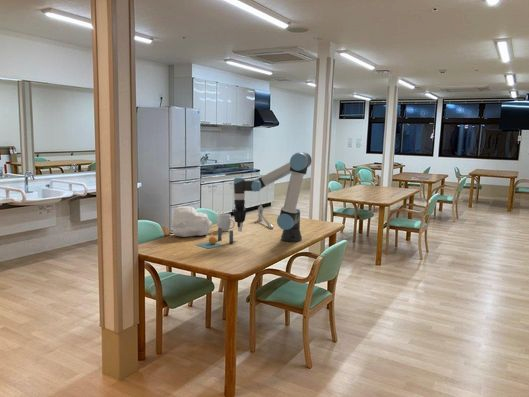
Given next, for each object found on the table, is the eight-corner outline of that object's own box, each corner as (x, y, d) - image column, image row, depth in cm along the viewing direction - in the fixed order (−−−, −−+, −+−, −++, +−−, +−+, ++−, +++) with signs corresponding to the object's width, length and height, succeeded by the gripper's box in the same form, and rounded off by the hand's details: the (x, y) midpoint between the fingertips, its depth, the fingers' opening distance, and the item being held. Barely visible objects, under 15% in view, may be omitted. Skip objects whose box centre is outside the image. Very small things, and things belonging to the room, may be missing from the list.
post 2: (231, 242, 308) (231, 230, 307) (233, 243, 306) (233, 230, 305) (228, 243, 306) (228, 230, 305) (231, 244, 304) (231, 231, 303)
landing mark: (211, 241, 310) (211, 241, 310) (224, 245, 301) (224, 245, 301) (195, 244, 301) (195, 244, 301) (207, 248, 291) (207, 248, 291)
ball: (206, 236, 303) (207, 244, 304) (211, 238, 299) (212, 246, 300) (213, 234, 306) (214, 242, 307) (218, 236, 302) (218, 243, 303)
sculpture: (172, 239, 316) (213, 238, 322) (172, 209, 313) (214, 209, 319) (171, 231, 341) (210, 231, 347) (171, 204, 338) (210, 204, 344)
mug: (237, 230, 349) (237, 214, 348) (231, 233, 339) (231, 216, 338) (221, 228, 355) (221, 212, 353) (214, 231, 345) (214, 215, 343)
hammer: (275, 236, 359) (261, 219, 395) (276, 217, 354) (262, 202, 391) (270, 236, 357) (256, 220, 394) (271, 217, 353) (257, 202, 389)
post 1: (220, 239, 317) (220, 227, 316) (222, 240, 315) (222, 228, 314) (217, 240, 315) (217, 228, 314) (219, 241, 313) (219, 228, 312)
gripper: (242, 197, 323) (243, 229, 326) (229, 199, 314) (229, 231, 317) (249, 198, 318) (250, 230, 321) (236, 200, 308) (236, 233, 311)
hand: (240, 231), depth 319 cm, fingers closed
